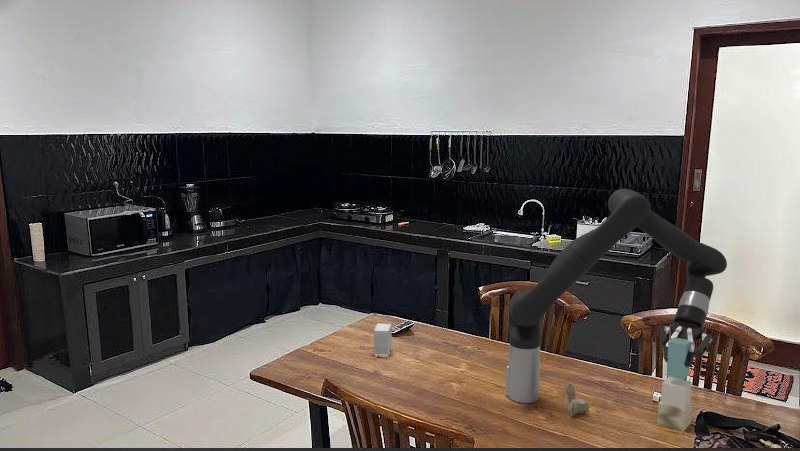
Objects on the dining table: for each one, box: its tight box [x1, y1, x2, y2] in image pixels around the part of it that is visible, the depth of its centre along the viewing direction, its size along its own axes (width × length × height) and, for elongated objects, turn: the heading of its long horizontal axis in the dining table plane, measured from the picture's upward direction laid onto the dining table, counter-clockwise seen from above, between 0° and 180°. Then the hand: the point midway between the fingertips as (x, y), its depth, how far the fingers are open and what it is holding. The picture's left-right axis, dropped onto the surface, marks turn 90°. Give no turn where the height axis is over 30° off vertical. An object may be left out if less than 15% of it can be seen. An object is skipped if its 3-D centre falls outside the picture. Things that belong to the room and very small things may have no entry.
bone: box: [565, 382, 590, 417], centre depth 165 cm, size 9×6×10 cm
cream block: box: [660, 376, 693, 410], centre depth 158 cm, size 6×6×6 cm
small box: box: [373, 323, 393, 354], centre depth 212 cm, size 8×6×10 cm
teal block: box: [666, 338, 690, 380], centre depth 156 cm, size 4×4×10 cm
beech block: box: [656, 400, 694, 432], centre depth 159 cm, size 7×7×6 cm
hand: (676, 363), depth 155 cm, fingers closed on teal block, 4 cm apart
